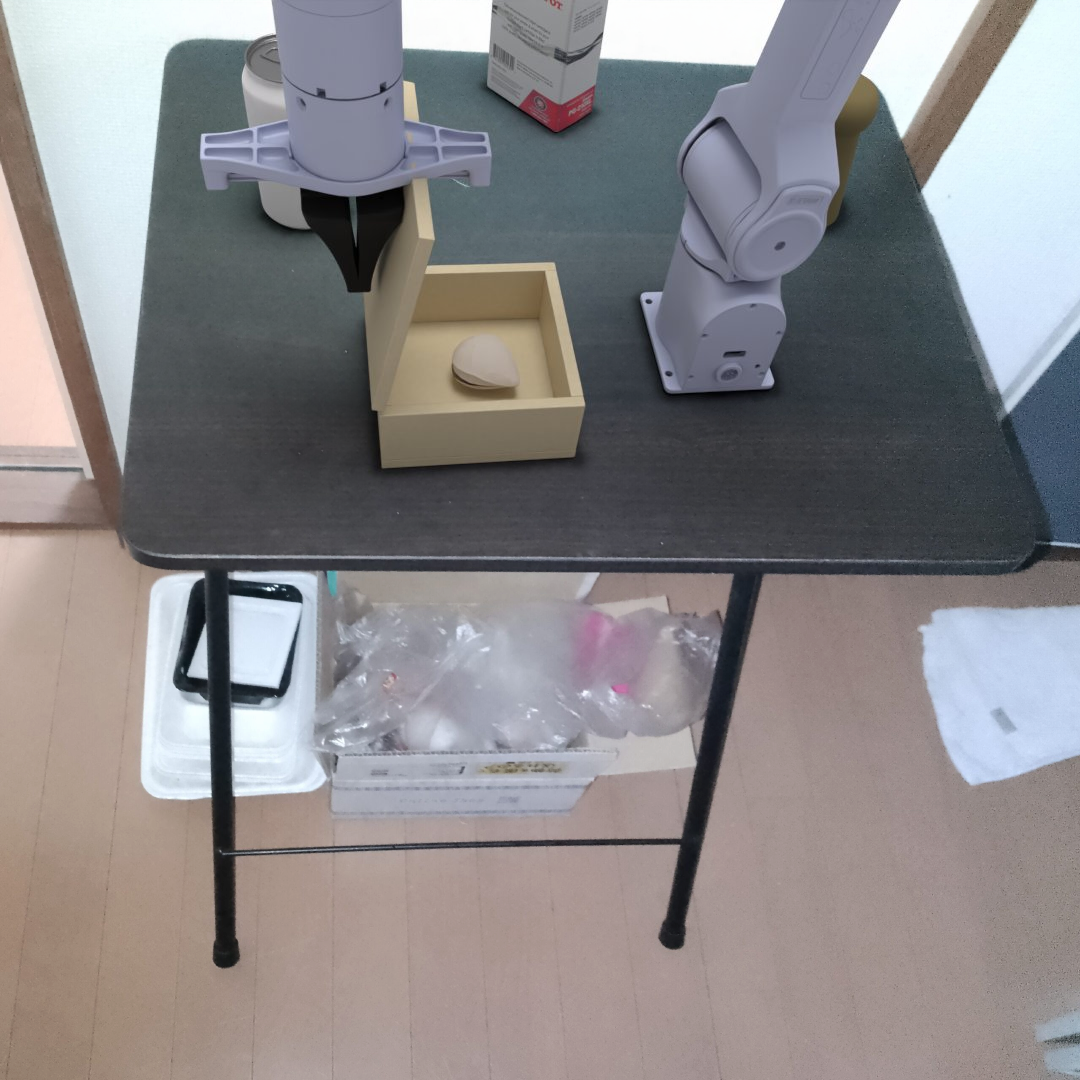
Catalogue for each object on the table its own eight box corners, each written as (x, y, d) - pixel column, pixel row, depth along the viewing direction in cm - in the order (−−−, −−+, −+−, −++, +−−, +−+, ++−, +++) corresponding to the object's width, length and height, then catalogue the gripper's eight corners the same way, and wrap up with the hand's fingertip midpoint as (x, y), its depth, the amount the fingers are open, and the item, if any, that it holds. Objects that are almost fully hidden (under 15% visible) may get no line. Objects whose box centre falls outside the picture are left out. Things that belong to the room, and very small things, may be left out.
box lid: (414, 82, 55) (400, 79, 54) (435, 239, 48) (419, 237, 48) (372, 262, 65) (360, 260, 65) (385, 411, 59) (371, 410, 58)
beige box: (546, 317, 72) (554, 261, 67) (574, 457, 65) (585, 405, 61) (370, 324, 70) (367, 266, 65) (381, 468, 63) (378, 416, 59)
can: (312, 245, 73) (294, 98, 63) (243, 208, 75) (216, 58, 65) (365, 200, 77) (357, 53, 66) (299, 165, 78) (281, 16, 68)
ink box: (594, 112, 85) (616, -27, 75) (555, 135, 83) (573, -5, 73) (522, 65, 88) (535, -75, 78) (483, 86, 86) (491, -55, 76)
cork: (817, 240, 79) (869, 118, 70) (753, 204, 81) (795, 81, 72) (851, 203, 82) (905, 81, 73) (788, 170, 84) (834, 47, 74)
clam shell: (477, 343, 69) (479, 316, 67) (536, 378, 68) (539, 352, 65) (439, 379, 67) (439, 353, 65) (498, 416, 65) (501, 391, 63)
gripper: (485, 17, 50) (474, 231, 61) (185, 13, 48) (231, 236, 59) (502, 103, 46) (487, 313, 58) (178, 104, 44) (229, 322, 55)
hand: (358, 280), depth 58 cm, fingers closed
